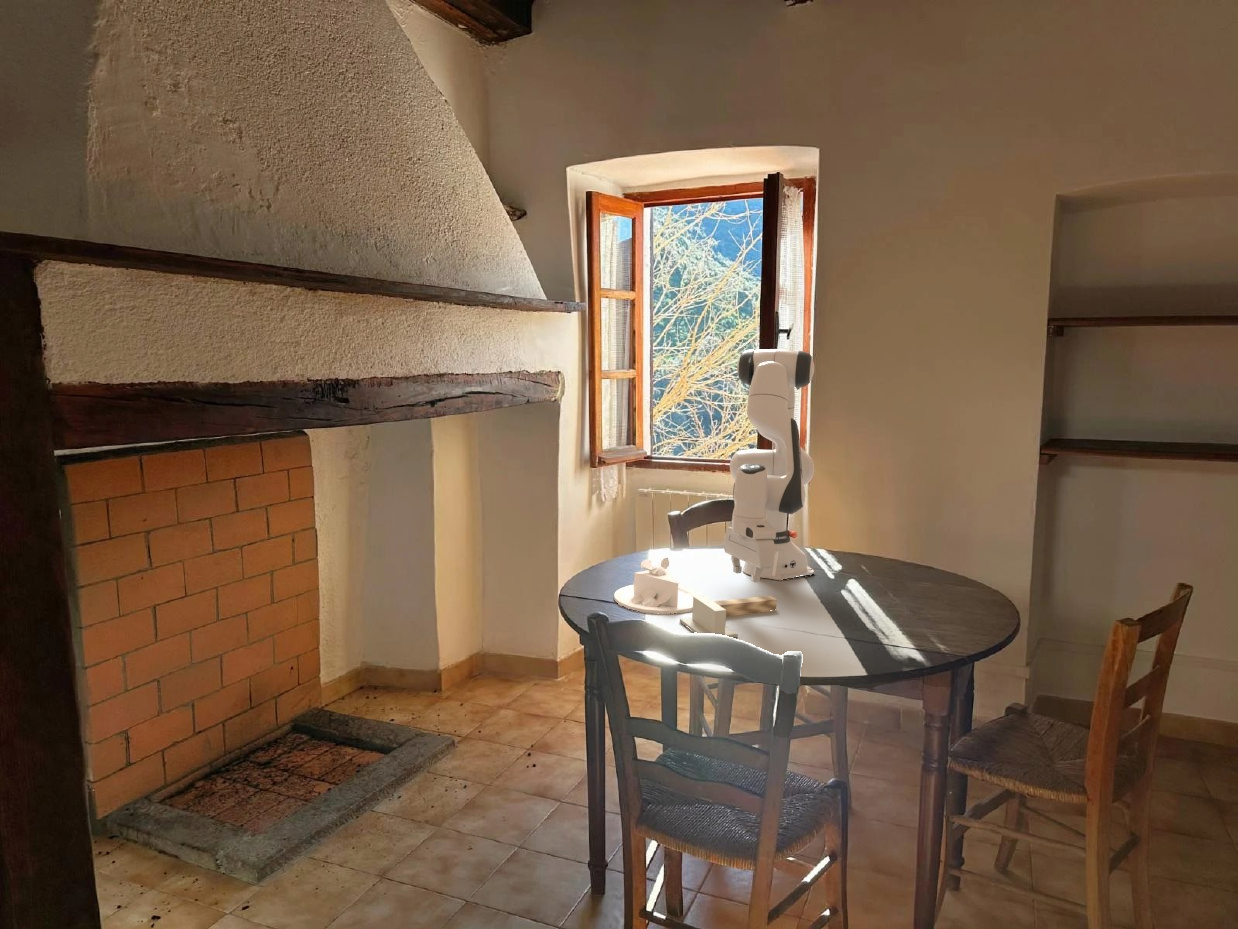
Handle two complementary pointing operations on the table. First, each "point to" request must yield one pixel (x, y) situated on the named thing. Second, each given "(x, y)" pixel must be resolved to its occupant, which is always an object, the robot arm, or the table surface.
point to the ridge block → (708, 618)
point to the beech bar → (748, 605)
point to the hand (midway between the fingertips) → (746, 577)
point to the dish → (656, 591)
